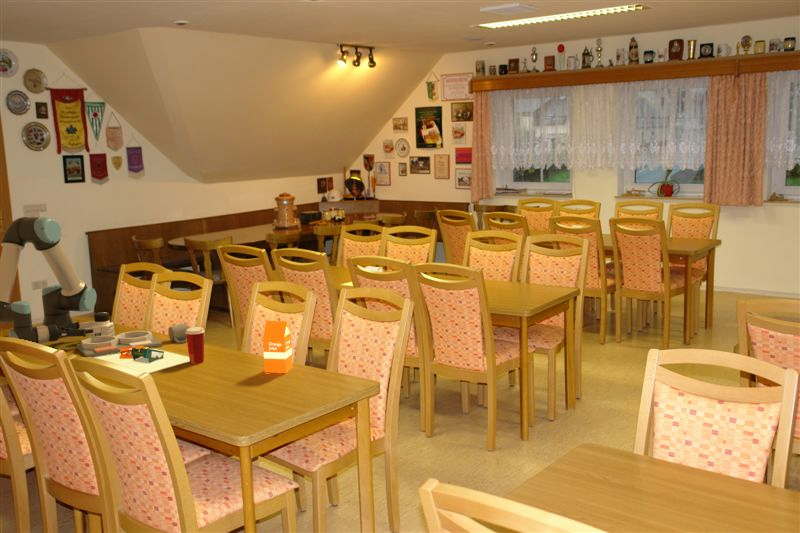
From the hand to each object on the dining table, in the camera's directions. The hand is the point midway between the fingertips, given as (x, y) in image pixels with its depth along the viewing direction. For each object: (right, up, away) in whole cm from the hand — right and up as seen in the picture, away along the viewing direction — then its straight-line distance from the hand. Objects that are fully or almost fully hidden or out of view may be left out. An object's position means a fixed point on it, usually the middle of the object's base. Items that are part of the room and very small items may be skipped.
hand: (97, 326), depth 357 cm
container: (+2, -7, +3) cm, 8 cm away
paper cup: (+56, -12, -39) cm, 70 cm away
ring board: (+14, -8, -11) cm, 19 cm away
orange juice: (+93, -13, -55) cm, 109 cm away
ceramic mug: (+39, -7, -2) cm, 40 cm away
